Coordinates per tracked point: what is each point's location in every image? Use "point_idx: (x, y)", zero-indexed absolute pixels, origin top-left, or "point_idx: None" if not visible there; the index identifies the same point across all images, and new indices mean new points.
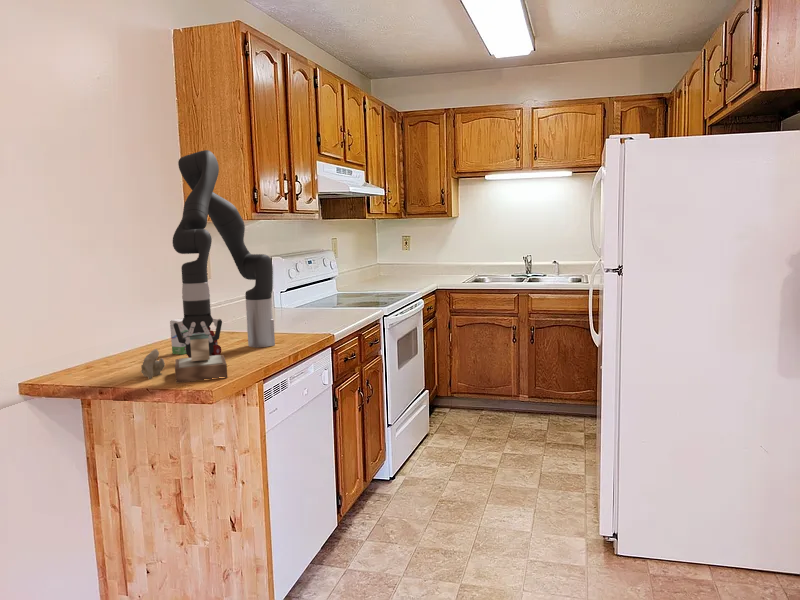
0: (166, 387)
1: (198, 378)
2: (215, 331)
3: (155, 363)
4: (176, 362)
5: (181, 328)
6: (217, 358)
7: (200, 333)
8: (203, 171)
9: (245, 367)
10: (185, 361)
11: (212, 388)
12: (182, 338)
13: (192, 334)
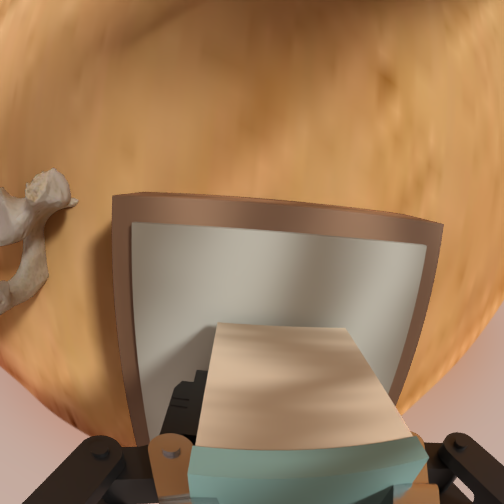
0: (128, 438)
1: None
2: (472, 485)
3: (19, 238)
4: (121, 311)
5: None
6: (382, 353)
7: (347, 473)
8: None
9: (471, 262)
10: (177, 347)
11: None
12: (122, 495)
13: (229, 494)
